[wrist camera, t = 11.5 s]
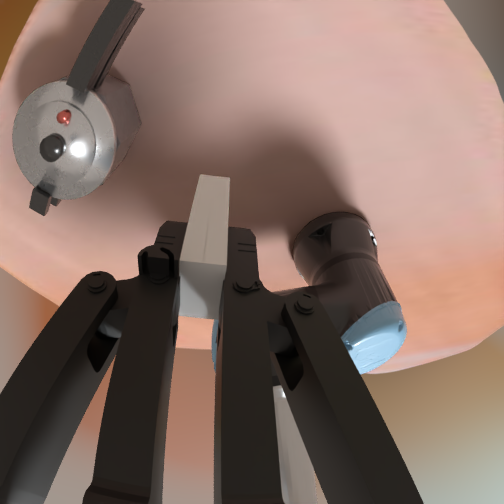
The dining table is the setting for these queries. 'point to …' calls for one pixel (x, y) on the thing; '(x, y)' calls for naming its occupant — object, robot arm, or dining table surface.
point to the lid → (72, 121)
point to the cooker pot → (117, 104)
